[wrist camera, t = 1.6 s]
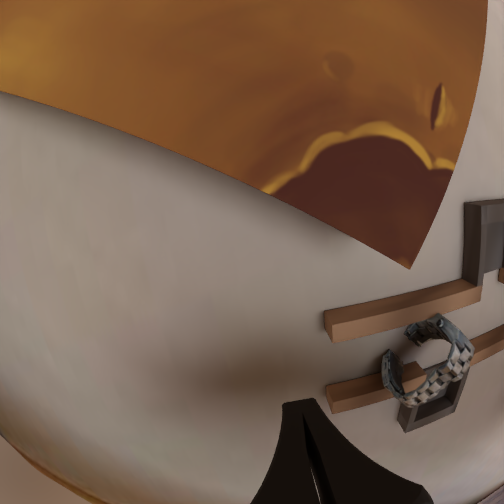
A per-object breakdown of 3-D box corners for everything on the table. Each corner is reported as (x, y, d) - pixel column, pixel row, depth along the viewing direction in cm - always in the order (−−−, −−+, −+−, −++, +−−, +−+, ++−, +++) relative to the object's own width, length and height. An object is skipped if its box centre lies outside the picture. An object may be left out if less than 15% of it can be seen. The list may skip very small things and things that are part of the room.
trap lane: (536, 195, 13) (554, 199, 11) (507, 367, 16) (519, 377, 14) (316, 220, 13) (329, 227, 11) (325, 440, 16) (331, 460, 15)
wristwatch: (438, 318, 15) (484, 356, 10) (379, 372, 16) (412, 424, 11) (420, 287, 15) (472, 324, 10) (355, 347, 15) (389, 401, 11)
